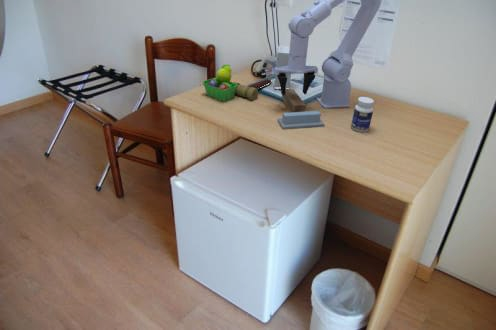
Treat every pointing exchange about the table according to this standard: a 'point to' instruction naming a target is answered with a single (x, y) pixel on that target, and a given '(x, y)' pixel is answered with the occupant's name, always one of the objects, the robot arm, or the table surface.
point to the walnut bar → (293, 101)
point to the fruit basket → (221, 85)
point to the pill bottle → (362, 114)
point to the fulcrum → (301, 120)
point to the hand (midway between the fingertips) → (293, 93)
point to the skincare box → (283, 64)
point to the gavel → (250, 89)
